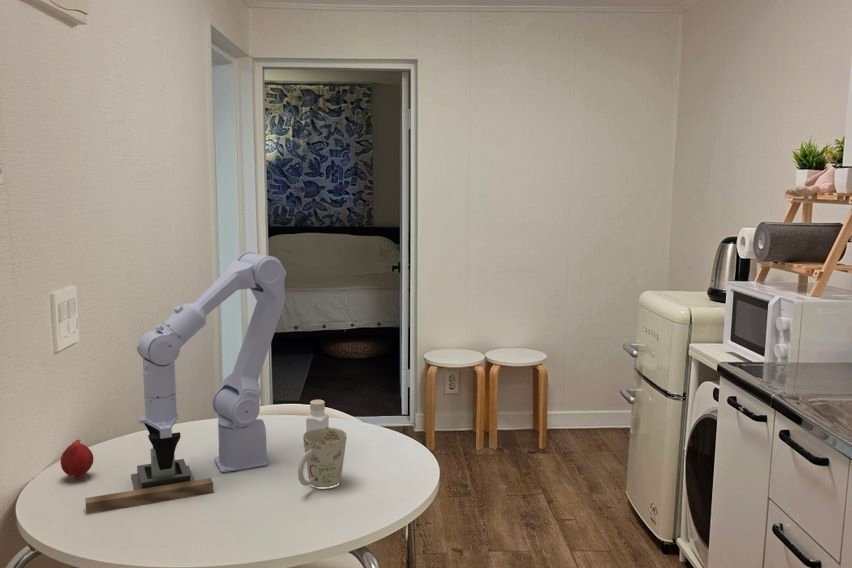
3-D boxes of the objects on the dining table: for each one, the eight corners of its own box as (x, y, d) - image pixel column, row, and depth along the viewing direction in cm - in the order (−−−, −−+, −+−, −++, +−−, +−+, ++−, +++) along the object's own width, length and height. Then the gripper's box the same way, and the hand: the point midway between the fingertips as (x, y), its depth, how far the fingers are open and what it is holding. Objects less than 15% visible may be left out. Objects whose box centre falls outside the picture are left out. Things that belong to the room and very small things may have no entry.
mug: (354, 479, 148) (354, 431, 147) (319, 504, 137) (319, 453, 135) (318, 471, 152) (318, 424, 150) (282, 495, 140) (281, 445, 139)
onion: (81, 485, 143) (79, 446, 142) (55, 482, 144) (52, 443, 143) (100, 473, 149) (98, 435, 148) (74, 471, 150) (72, 433, 149)
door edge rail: (211, 487, 143) (210, 477, 143) (213, 492, 141) (213, 482, 141) (85, 508, 134) (85, 498, 134) (86, 514, 132) (85, 503, 131)
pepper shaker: (321, 446, 165) (320, 405, 164) (305, 444, 167) (305, 403, 165) (329, 440, 169) (329, 400, 167) (314, 438, 170) (313, 398, 169)
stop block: (173, 474, 148) (172, 445, 147) (175, 482, 144) (174, 452, 143) (151, 477, 146) (150, 448, 145) (153, 485, 142) (152, 455, 141)
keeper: (188, 468, 152) (188, 456, 152) (197, 489, 143) (197, 476, 142) (131, 477, 148) (130, 464, 147) (136, 499, 138) (135, 486, 137)
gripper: (134, 386, 147) (137, 451, 149) (141, 407, 134) (144, 479, 136) (171, 382, 150) (174, 446, 152) (182, 402, 137) (185, 472, 139)
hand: (163, 461), depth 144 cm, fingers open, 7 cm apart
